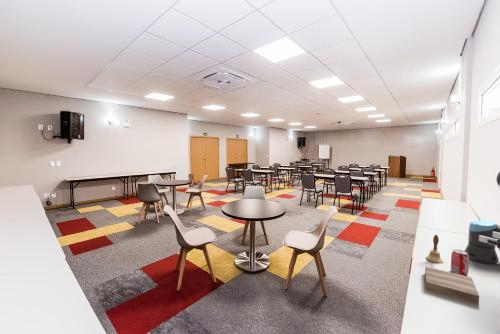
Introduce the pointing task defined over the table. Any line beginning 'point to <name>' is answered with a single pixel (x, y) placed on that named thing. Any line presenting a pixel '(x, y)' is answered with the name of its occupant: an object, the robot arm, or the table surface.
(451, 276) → the podium
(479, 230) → the robot arm
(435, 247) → the hand bell
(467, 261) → the soda can
